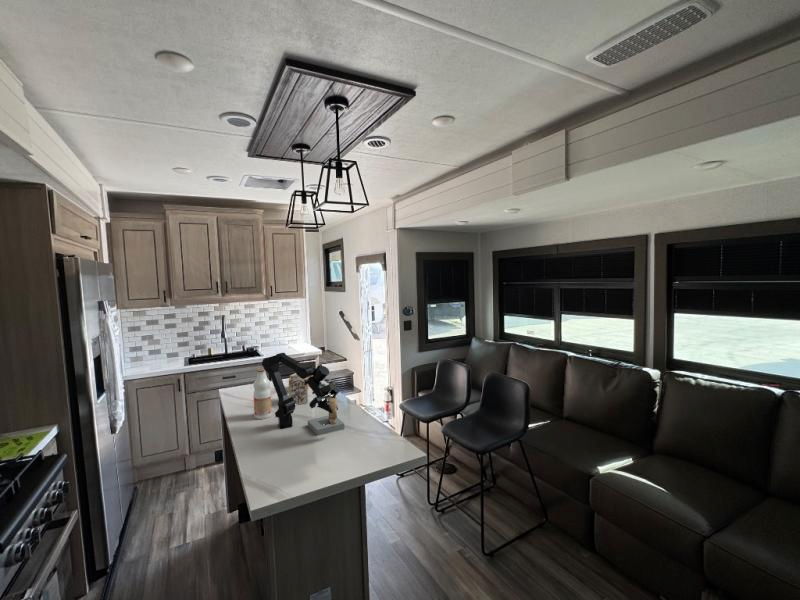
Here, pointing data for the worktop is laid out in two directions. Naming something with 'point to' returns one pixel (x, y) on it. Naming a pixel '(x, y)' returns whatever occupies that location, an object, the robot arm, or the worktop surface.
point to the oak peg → (333, 406)
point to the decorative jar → (298, 389)
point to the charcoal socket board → (322, 429)
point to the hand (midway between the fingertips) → (334, 411)
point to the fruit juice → (262, 395)
